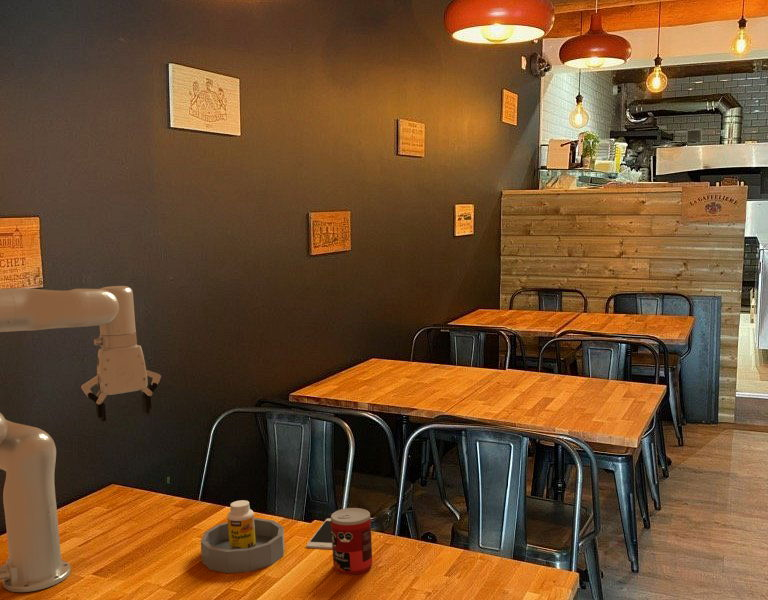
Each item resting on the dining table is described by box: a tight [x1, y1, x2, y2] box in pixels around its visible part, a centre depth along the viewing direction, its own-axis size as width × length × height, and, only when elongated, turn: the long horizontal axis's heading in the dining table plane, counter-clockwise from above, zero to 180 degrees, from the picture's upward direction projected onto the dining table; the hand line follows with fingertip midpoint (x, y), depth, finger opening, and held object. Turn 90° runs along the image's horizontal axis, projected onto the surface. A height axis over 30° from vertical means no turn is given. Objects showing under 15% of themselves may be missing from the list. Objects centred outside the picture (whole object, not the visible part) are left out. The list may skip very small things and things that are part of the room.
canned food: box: [330, 507, 373, 576], centre depth 153 cm, size 8×8×11 cm
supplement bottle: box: [226, 499, 256, 550], centre depth 161 cm, size 6×6×10 cm
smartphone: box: [306, 517, 332, 550], centre depth 171 cm, size 7×16×1 cm, turn 167°
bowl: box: [200, 517, 286, 574], centre depth 162 cm, size 17×17×4 cm
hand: (124, 416), depth 171 cm, fingers open, 9 cm apart
